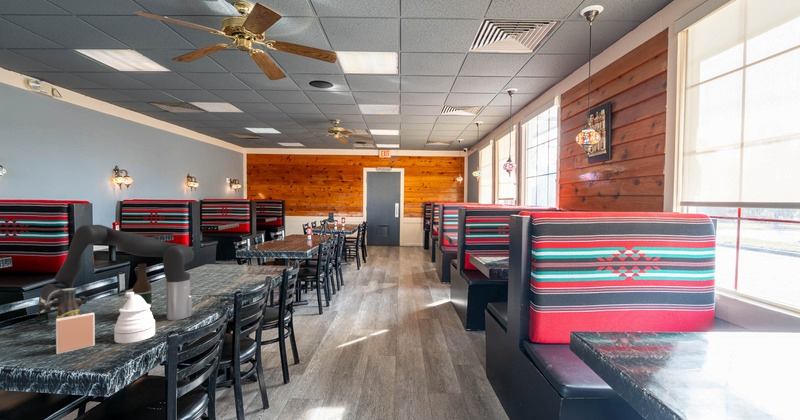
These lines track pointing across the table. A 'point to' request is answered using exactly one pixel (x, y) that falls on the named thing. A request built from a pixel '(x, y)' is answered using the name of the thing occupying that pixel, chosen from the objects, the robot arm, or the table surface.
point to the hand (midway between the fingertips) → (64, 306)
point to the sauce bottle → (68, 304)
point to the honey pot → (134, 321)
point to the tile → (75, 332)
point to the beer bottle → (143, 285)
